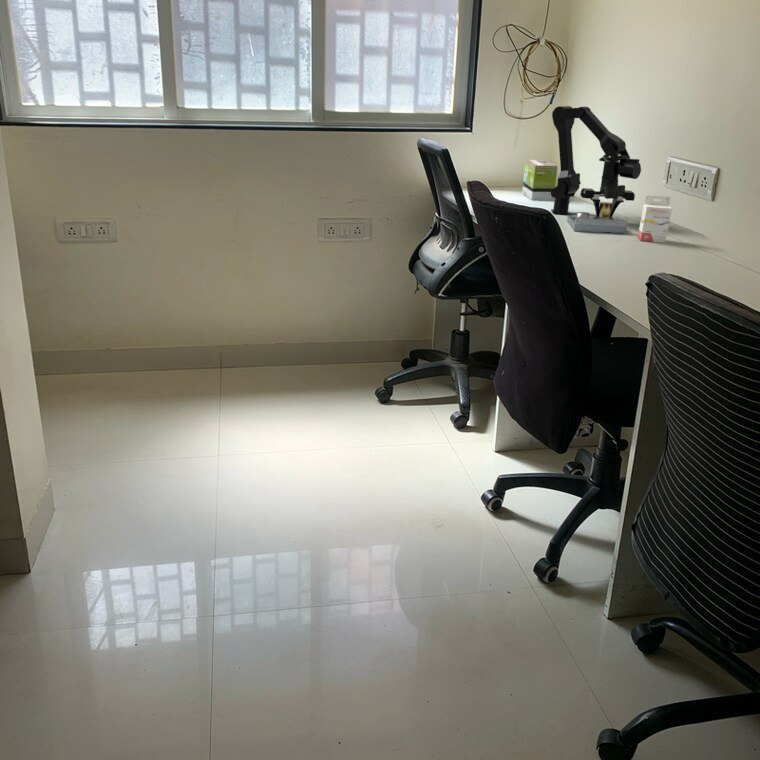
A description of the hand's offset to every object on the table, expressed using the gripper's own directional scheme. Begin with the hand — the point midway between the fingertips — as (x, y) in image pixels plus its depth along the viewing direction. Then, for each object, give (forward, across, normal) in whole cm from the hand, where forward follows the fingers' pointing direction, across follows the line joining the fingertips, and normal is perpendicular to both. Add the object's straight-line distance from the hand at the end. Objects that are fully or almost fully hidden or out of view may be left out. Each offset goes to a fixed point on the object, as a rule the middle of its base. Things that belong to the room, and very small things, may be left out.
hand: (603, 217), depth 290 cm
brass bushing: (+2, 0, 0) cm, 2 cm away
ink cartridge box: (+2, +11, -27) cm, 29 cm away
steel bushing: (+2, -10, -11) cm, 15 cm away
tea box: (+2, -19, +45) cm, 49 cm away
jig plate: (+2, -5, -11) cm, 12 cm away
